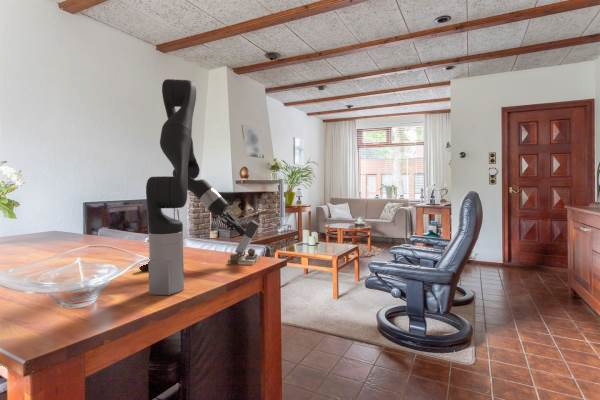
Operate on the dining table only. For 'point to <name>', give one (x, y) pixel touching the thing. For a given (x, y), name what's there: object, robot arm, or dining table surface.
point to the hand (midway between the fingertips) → (243, 234)
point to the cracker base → (244, 258)
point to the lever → (247, 237)
